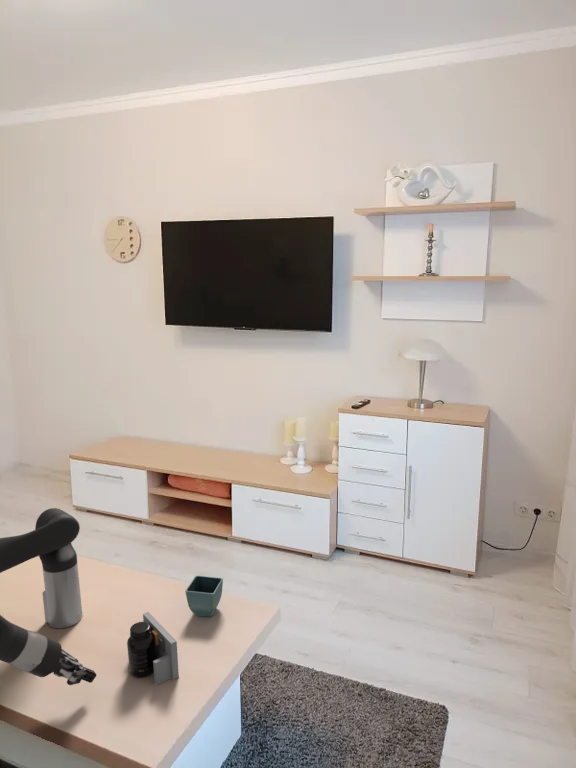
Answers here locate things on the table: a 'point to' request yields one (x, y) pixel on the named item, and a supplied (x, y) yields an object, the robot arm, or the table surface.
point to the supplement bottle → (141, 650)
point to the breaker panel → (163, 651)
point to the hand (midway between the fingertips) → (93, 677)
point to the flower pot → (204, 595)
